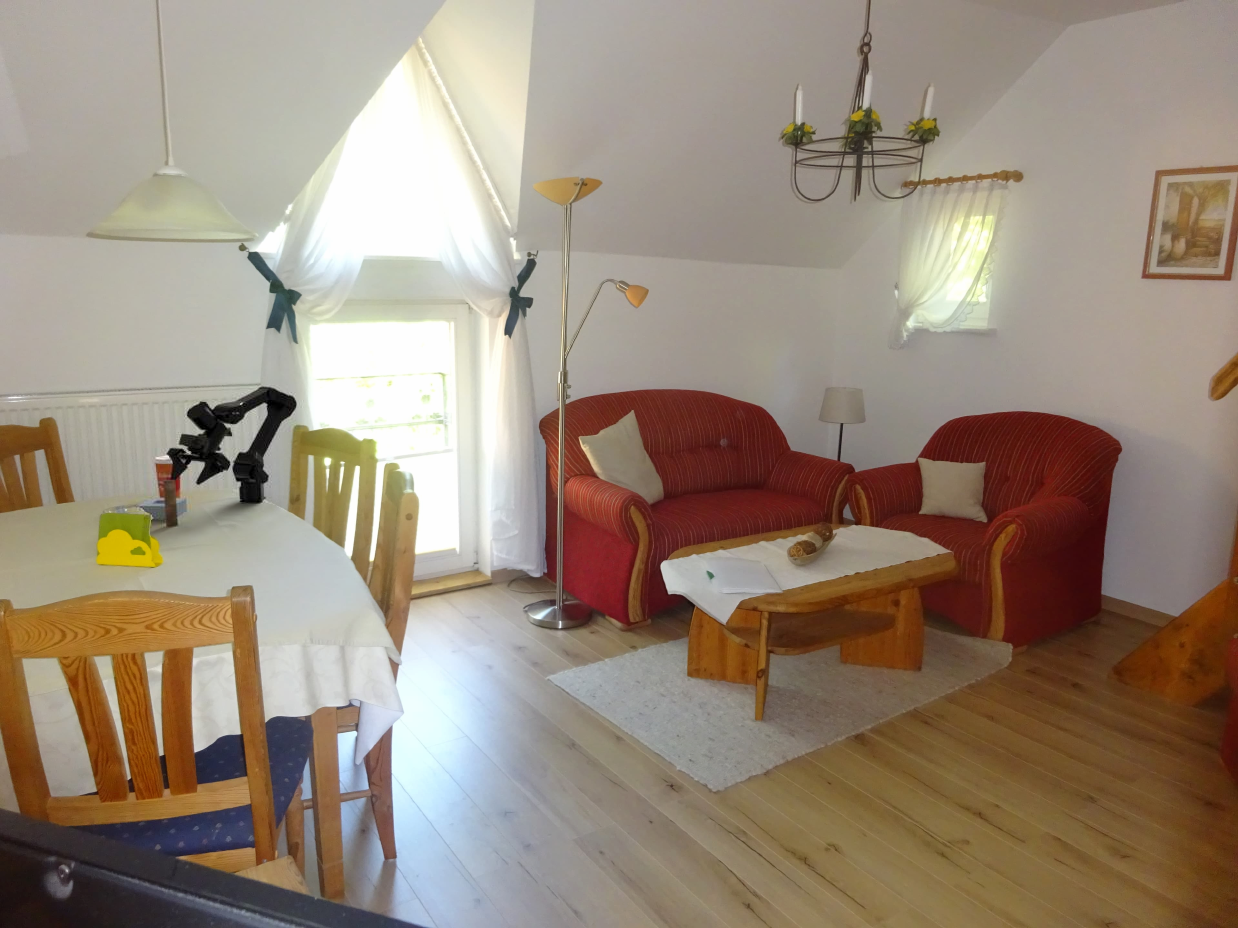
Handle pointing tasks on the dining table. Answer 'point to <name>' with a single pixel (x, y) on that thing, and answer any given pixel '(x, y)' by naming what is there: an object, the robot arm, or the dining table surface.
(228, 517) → the dining table surface
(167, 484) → the dowel
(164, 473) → the paper cup
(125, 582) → the dining table surface
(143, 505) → the socket block
